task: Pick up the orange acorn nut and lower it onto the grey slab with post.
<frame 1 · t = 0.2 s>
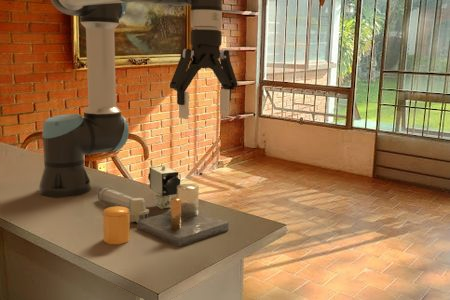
hand: (204, 116, 123), 28 cm above the counter, tool pointing down, fingers open, 13 cm apart
orange acorn nut: (116, 239, 115), on the counter
pneumatic valve: (165, 207, 140), on the counter
white handheld device: (122, 212, 136), on the counter
grey slab with post: (183, 229, 123), on the counter
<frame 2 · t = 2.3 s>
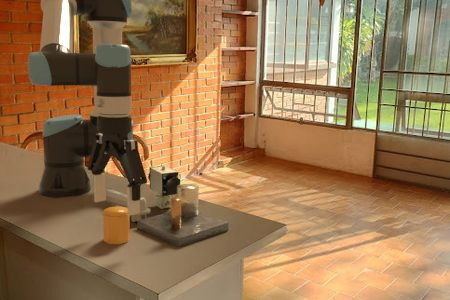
hand: (116, 207, 113), 8 cm above the counter, tool pointing down, fingers open, 13 cm apart
nothing on the counter moved.
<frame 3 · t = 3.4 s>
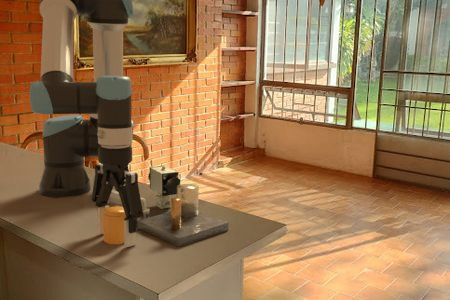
hand: (116, 238, 115), 0 cm above the counter, tool pointing down, fingers open, 10 cm apart
nothing on the counter moved.
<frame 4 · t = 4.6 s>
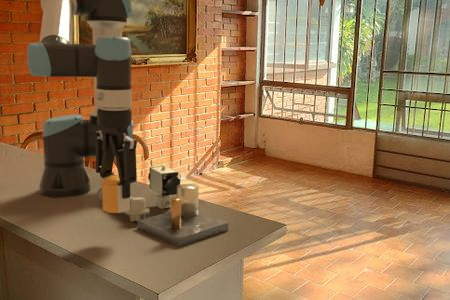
hand: (116, 207, 114), 8 cm above the counter, tool pointing down, fingers closed on orange acorn nut, 6 cm apart
orange acorn nut: (116, 208, 114), point 7 cm above the counter, touching gripper
everything else where it was.
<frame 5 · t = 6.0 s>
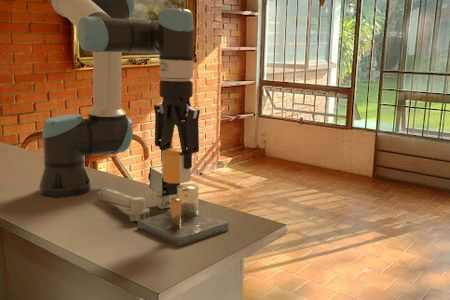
hand: (176, 179, 116), 14 cm above the counter, tool pointing down, fingers closed on orange acorn nut, 6 cm apart
orange acorn nut: (175, 180, 116), point 14 cm above the counter, touching gripper
everything else where it was.
when the fingers open (4 cm above the counter, at t = 7.8 s): orange acorn nut drops 1 cm, resting on grey slab with post.
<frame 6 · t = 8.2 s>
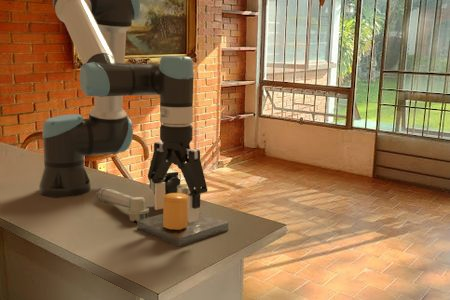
hand: (175, 214, 117), 5 cm above the counter, tool pointing down, fingers open, 11 cm apart
orange acorn nut: (175, 225, 118), point 3 cm above the counter, touching grey slab with post
everything else where it was.
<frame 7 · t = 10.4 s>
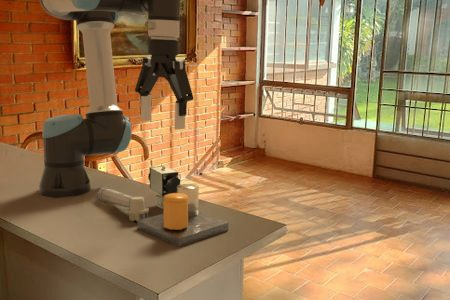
hand: (162, 124, 124), 25 cm above the counter, tool pointing down, fingers open, 13 cm apart
nothing on the counter moved.
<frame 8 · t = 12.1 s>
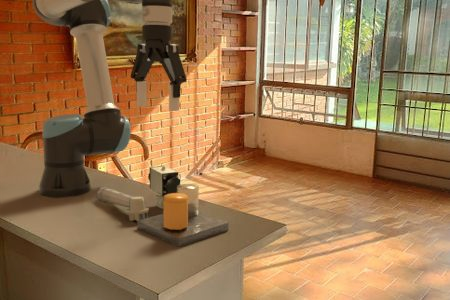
hand: (157, 108, 129), 29 cm above the counter, tool pointing down, fingers open, 13 cm apart
nothing on the counter moved.
at the end: orange acorn nut 0.0 cm from the target spot, point 2.5 cm above the counter; orange acorn nut tilted 0°; the gripper is holding nothing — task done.
